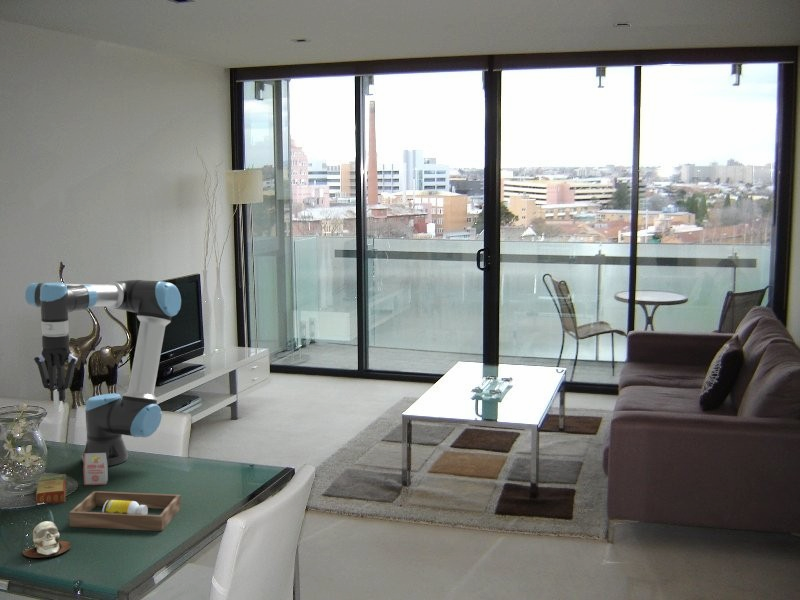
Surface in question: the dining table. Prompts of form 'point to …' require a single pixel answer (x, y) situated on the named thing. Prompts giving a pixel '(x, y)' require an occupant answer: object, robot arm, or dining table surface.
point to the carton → (51, 489)
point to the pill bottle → (124, 507)
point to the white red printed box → (95, 469)
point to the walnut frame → (125, 521)
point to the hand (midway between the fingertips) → (58, 410)
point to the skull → (46, 541)
